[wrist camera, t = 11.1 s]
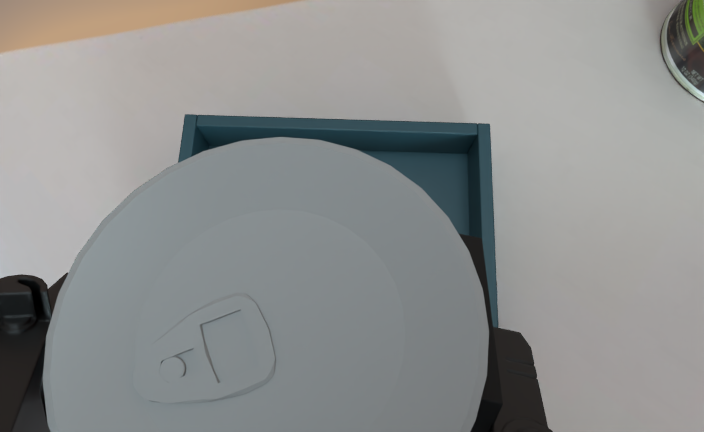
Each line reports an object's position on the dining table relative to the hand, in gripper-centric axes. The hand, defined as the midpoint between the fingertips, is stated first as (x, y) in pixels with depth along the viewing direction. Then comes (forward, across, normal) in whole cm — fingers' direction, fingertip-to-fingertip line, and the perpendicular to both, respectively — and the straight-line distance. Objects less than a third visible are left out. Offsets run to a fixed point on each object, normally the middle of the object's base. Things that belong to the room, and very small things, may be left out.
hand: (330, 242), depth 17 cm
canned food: (0, 0, -5) cm, 5 cm away
